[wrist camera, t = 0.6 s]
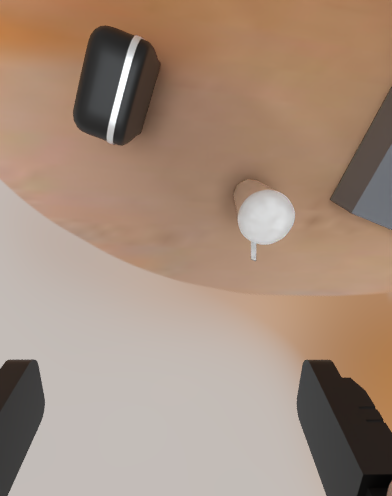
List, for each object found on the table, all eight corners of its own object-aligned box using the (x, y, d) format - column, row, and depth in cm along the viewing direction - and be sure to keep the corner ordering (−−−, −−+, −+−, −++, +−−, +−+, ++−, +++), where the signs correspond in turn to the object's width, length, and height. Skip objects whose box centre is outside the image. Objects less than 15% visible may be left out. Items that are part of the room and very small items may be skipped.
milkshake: (215, 213, 36) (226, 249, 27) (238, 164, 35) (258, 186, 25) (255, 229, 37) (278, 270, 28) (279, 182, 35) (313, 210, 26)
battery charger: (120, 42, 30) (86, 8, 20) (162, 59, 31) (151, 35, 20) (100, 123, 33) (60, 131, 22) (139, 137, 33) (119, 152, 23)
